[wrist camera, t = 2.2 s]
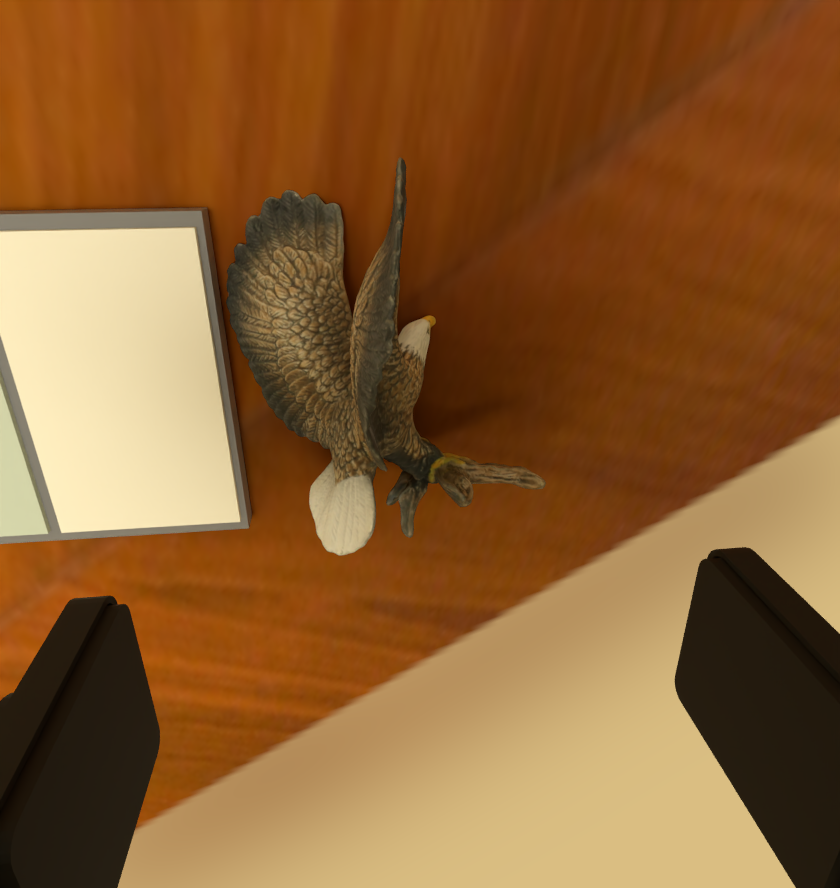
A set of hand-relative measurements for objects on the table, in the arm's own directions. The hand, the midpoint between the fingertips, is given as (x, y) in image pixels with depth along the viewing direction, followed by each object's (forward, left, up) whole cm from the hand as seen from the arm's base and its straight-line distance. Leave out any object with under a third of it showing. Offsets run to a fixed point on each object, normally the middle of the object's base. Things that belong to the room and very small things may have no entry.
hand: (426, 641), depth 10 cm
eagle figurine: (+1, -2, -12) cm, 12 cm away
